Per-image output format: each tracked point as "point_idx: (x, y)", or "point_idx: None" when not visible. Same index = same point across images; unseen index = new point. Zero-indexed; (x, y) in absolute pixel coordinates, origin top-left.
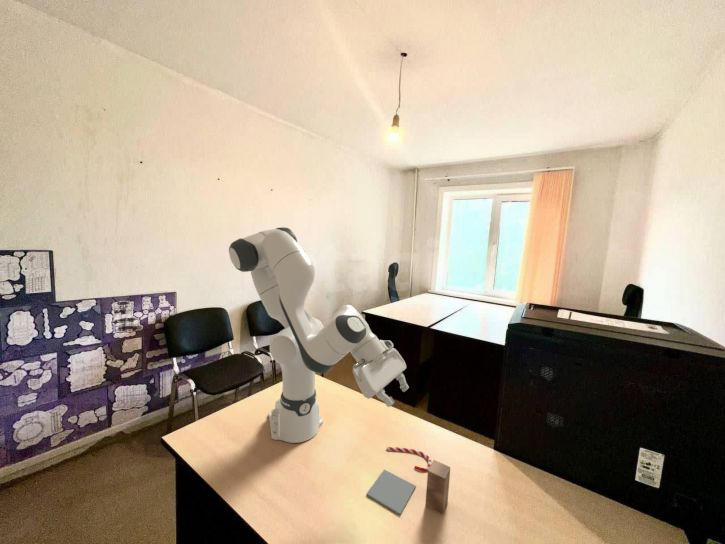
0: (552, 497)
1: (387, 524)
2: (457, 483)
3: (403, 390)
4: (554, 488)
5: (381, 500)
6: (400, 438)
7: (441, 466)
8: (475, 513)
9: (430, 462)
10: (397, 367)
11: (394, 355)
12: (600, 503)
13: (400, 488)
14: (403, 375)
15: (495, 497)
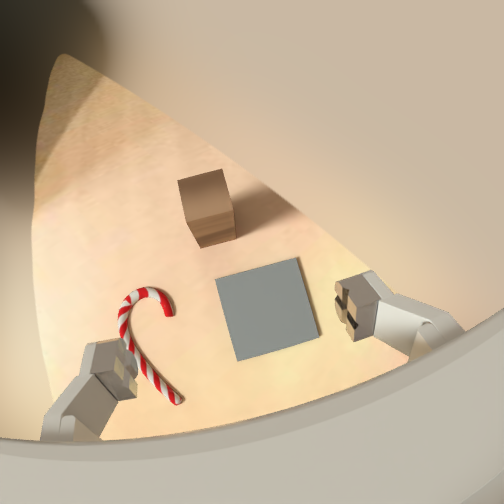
0: (69, 122)
1: (327, 262)
2: (137, 226)
3: (133, 362)
4: (52, 128)
5: (305, 303)
6: (121, 401)
7: (193, 194)
8: (177, 171)
9: (132, 295)
10: (57, 495)
11: None
12: (51, 93)
13: (249, 297)
14: (50, 419)
15: (120, 166)
